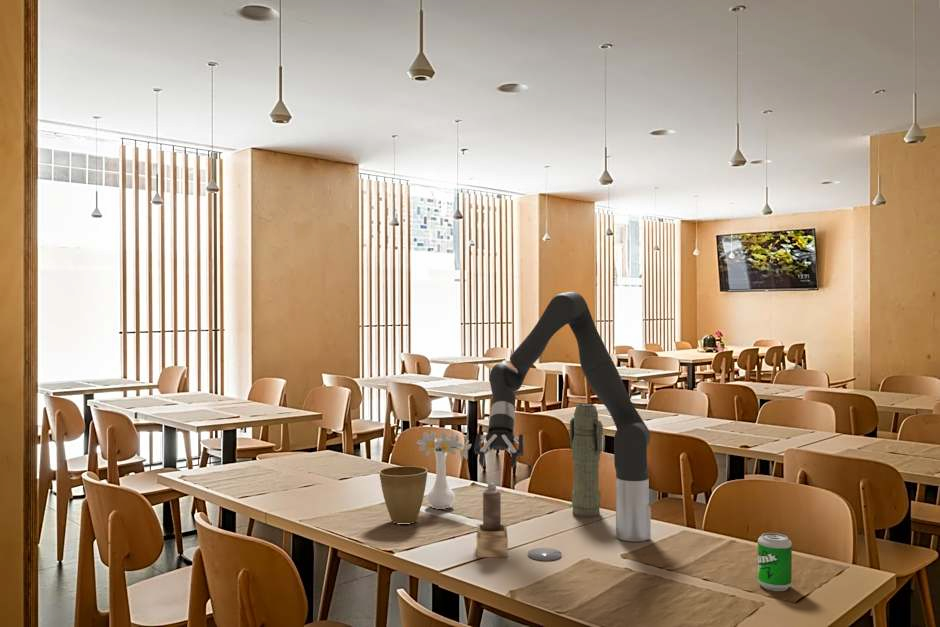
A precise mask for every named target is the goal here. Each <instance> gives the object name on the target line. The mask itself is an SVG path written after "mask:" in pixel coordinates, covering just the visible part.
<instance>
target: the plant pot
mask: <svg viewBox="0 0 940 627" xmlns="http://www.w3.org/2000/svg"><path fill="white" fill-rule="evenodd" d="M378 473H379V479H380V486H381V490H382V495H383V498H384V502H385V505H386V509H387V512H388V514H389V517H390V519H391V520H390V521H391V522H392V521H393V522H395V523H412V522H415V521H416V522H417V521H418V518H419V515H420V512H421V507H422V504H423V502H424V496H425V491H426V486H427V478H428V469H427V468H426V467H421V466H414V465H403V466H398V465H397V466H391V467H386V468H382V469H380V470H379V471H378ZM393 522H392V523H393ZM416 522H415V523H416Z"/></svg>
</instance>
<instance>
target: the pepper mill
mask: <svg viewBox="0 0 940 627" xmlns="http://www.w3.org/2000/svg"><path fill="white" fill-rule="evenodd" d="M486 486H487V487H486V488H485V489H484V492H482V524H483V531H501V524H502V521H501V518H502V517H501V516H502V515H501V514H502V513H501V512H502V511H501V509H502V508H501V504H502V502H501V501H502V500H501V499H502V498H501V491H500V490H499V489H500V488H497V485H496V484H495V483H494V482H490V483H488V484H487V485H486Z"/></svg>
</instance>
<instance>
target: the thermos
mask: <svg viewBox="0 0 940 627" xmlns="http://www.w3.org/2000/svg"><path fill="white" fill-rule="evenodd" d="M603 432H604V425H603V423H602V421H601V420H599V413H598V410H597V407H596V405H594V404H593V403H579V404H578V405H576V407H575V410H574V413H573V417H572V418H571V419H570V421H569V445H570V448H569V449H570V450H571V455H572V457H571V459H572V461H573V488H572V491H571V506H572V514H573V515H574V516H577V517H580V518H581V517H582V518H593V517H594V518H595V517H599V516H600V514H601V512H600V508H601V493H600V489H599V462H600V460H601V453H602V452H603V451H604V450H603Z"/></svg>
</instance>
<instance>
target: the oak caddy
mask: <svg viewBox="0 0 940 627" xmlns="http://www.w3.org/2000/svg"><path fill="white" fill-rule="evenodd" d="M508 541H509V538H508V529H507V525H506V523H501V531H483V523H477V524H476V552H477V553H476V554H477V558H508V556H509V555H508V554H509V551H508V550H509V548H508V546H509V545H508V544H509V542H508Z"/></svg>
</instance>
